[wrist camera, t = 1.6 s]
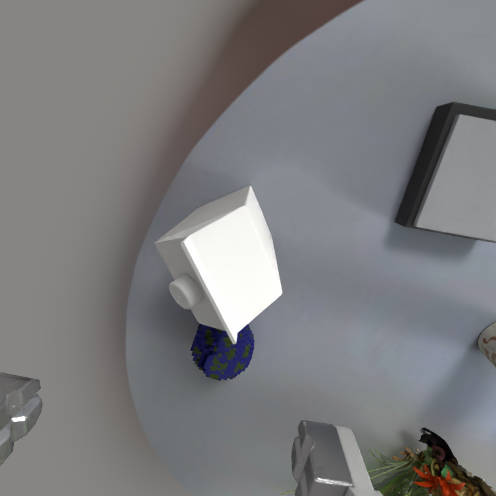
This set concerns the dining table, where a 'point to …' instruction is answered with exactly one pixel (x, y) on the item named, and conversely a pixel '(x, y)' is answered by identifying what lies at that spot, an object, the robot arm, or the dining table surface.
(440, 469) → the plant
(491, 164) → the scale
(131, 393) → the dining table surface
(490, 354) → the mug
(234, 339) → the milk carton
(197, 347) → the ball
